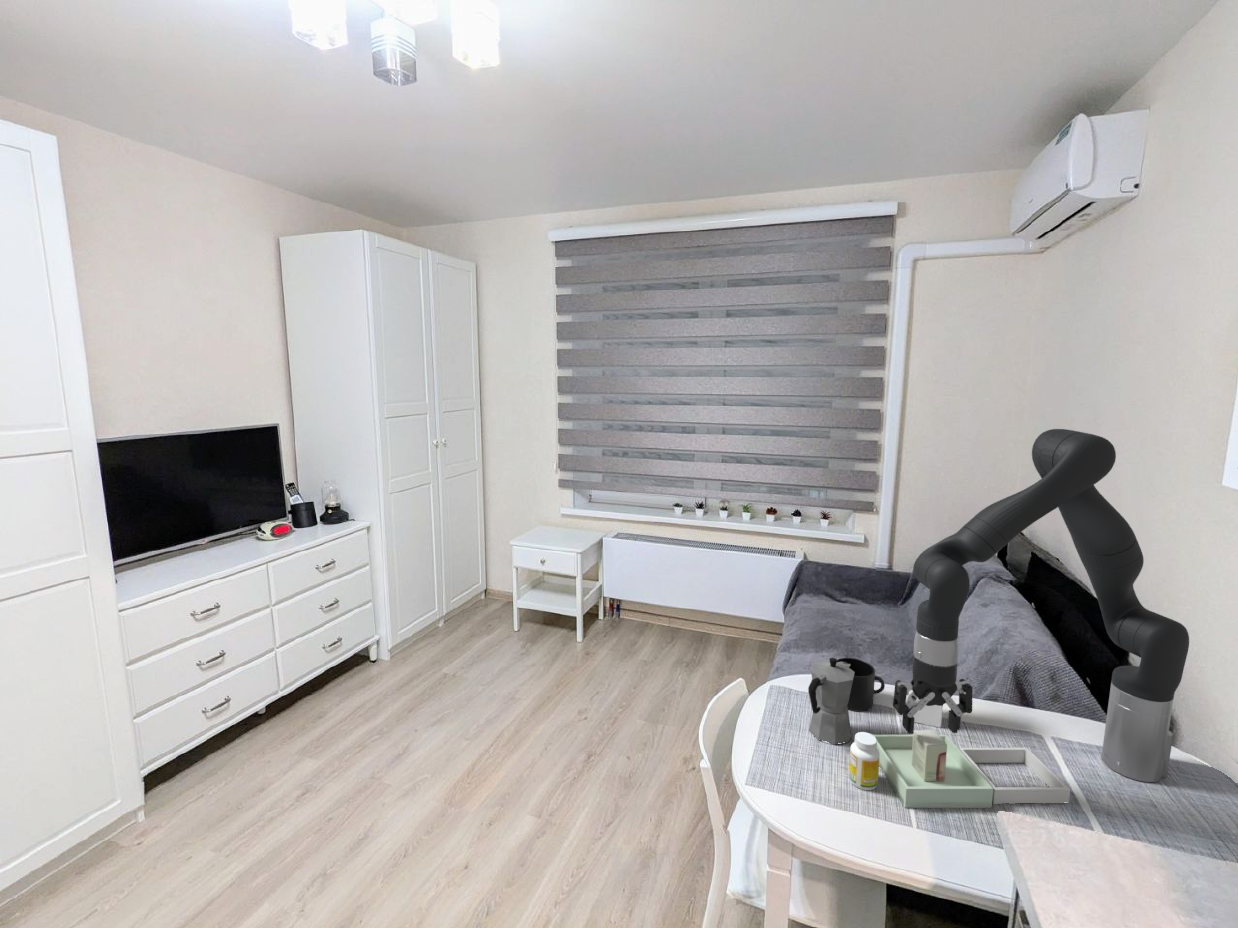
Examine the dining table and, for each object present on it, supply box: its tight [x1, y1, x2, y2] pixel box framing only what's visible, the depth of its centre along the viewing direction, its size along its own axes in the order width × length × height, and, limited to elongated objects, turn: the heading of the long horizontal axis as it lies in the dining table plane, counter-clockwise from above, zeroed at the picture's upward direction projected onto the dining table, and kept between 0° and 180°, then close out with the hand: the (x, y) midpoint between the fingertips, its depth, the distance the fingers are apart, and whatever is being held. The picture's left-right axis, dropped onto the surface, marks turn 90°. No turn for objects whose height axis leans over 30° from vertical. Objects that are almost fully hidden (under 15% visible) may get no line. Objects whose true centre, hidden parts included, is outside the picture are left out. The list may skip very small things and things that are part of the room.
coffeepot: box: [807, 657, 855, 745], centre depth 127 cm, size 15×9×18 cm, turn 129°
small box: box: [911, 729, 947, 781], centre depth 114 cm, size 5×4×8 cm
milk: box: [911, 690, 944, 729], centre depth 132 cm, size 6×6×22 cm
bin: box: [872, 734, 993, 809], centre depth 114 cm, size 16×16×4 cm
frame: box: [957, 747, 1071, 805], centre depth 113 cm, size 14×12×3 cm
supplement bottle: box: [848, 731, 880, 791], centre depth 113 cm, size 5×5×10 cm
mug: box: [837, 657, 886, 712], centre depth 140 cm, size 9×12×9 cm
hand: (930, 730), depth 113 cm, fingers open, 8 cm apart
